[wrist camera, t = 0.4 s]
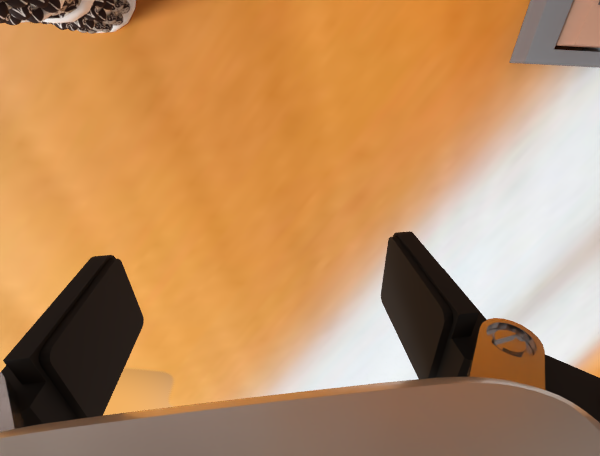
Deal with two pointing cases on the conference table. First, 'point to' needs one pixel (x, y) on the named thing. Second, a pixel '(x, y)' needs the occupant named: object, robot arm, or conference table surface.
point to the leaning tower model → (70, 13)
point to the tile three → (582, 25)
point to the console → (549, 37)
